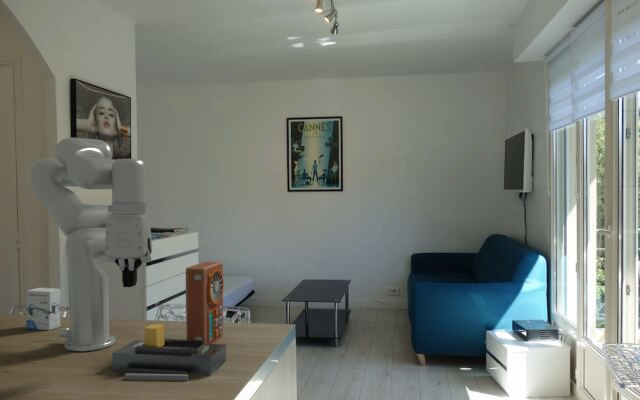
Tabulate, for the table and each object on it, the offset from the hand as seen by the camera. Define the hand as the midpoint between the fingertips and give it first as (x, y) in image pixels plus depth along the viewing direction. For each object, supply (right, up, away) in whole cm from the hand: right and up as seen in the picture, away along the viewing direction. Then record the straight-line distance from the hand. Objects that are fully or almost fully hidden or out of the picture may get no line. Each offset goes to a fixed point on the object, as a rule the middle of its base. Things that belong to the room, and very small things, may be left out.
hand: (129, 286), depth 122 cm
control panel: (+14, -19, +17) cm, 29 cm away
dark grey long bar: (+8, -19, -8) cm, 22 cm away
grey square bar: (+10, -19, -10) cm, 24 cm away
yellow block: (+6, -15, -1) cm, 16 cm away
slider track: (+10, -19, -1) cm, 21 cm away
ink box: (-39, -19, +33) cm, 54 cm away
